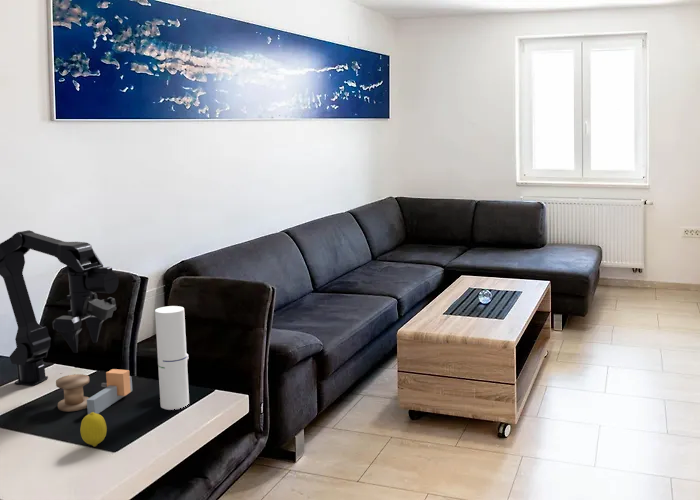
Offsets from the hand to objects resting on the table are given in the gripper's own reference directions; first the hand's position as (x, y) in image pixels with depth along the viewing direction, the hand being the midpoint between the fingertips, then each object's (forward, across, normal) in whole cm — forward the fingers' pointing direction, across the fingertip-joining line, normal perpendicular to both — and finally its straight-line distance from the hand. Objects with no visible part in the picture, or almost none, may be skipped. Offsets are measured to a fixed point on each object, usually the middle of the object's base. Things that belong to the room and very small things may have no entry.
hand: (85, 347), depth 201 cm
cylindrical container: (+12, -5, -28) cm, 31 cm away
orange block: (+11, -3, -10) cm, 15 cm away
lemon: (+12, -32, -22) cm, 41 cm away
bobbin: (+12, -11, -3) cm, 17 cm away
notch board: (+12, -7, -11) cm, 18 cm away
